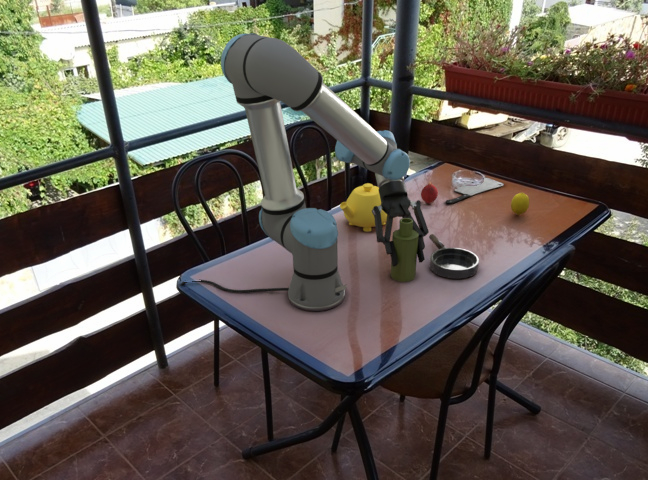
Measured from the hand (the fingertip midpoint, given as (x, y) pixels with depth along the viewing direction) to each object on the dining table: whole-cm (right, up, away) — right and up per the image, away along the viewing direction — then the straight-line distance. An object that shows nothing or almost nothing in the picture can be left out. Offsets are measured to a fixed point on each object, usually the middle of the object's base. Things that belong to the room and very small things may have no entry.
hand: (408, 262), depth 151 cm
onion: (+17, +24, +47) cm, 55 cm away
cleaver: (+34, +30, +54) cm, 70 cm away
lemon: (+44, +18, +35) cm, 59 cm away
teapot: (-8, +15, +35) cm, 39 cm away
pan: (+14, -1, +8) cm, 17 cm away
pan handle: (+12, +6, +17) cm, 22 cm away
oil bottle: (0, -3, +6) cm, 7 cm away
